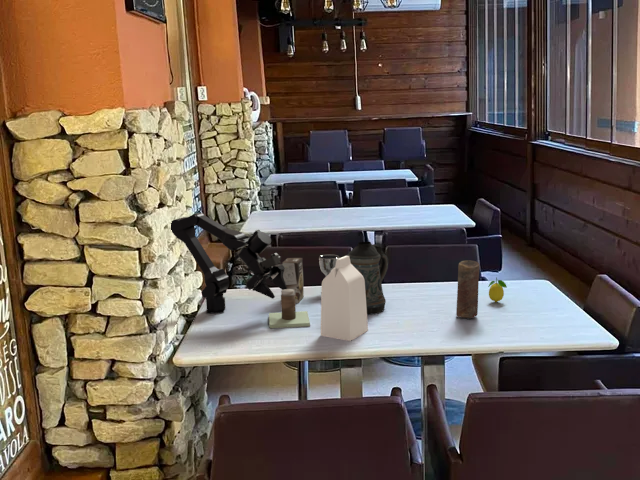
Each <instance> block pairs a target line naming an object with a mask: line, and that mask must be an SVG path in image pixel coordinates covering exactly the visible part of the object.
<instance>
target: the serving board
mask: <svg viewBox="0 0 640 480" xmlns="http://www.w3.org/2000/svg"><path fill="white" fill-rule="evenodd" d="M268 320H269V321H268V322H269V329H280V328H281V329H282V328H302V327H303V328H304V327H311V321H310V317H309V312H308V311H307V310H306V311H303V310H302V311H296V318H295V319H293V320H284V319H282V311H281V312H269V313H268Z"/></svg>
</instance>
